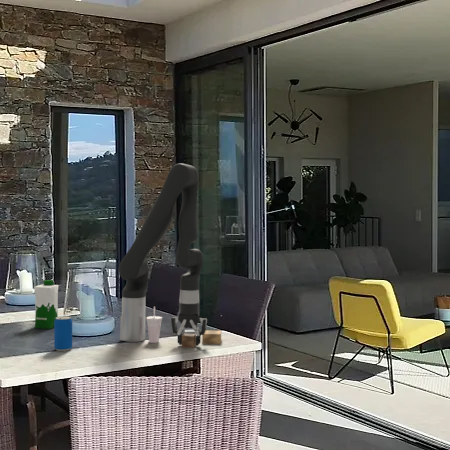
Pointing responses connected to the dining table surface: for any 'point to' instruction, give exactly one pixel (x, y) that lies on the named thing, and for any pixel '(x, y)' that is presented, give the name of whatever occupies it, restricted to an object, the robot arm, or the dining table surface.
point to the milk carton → (46, 304)
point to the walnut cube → (188, 340)
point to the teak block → (211, 337)
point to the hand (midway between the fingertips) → (188, 344)
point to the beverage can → (63, 333)
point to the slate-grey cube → (189, 332)
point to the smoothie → (154, 327)
